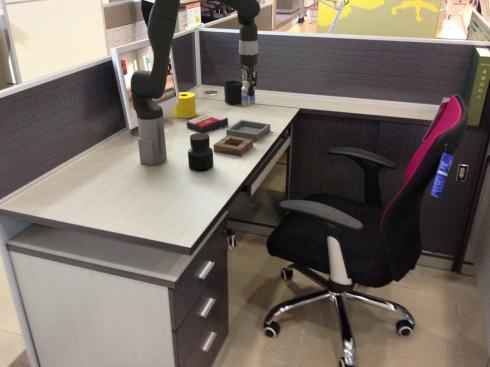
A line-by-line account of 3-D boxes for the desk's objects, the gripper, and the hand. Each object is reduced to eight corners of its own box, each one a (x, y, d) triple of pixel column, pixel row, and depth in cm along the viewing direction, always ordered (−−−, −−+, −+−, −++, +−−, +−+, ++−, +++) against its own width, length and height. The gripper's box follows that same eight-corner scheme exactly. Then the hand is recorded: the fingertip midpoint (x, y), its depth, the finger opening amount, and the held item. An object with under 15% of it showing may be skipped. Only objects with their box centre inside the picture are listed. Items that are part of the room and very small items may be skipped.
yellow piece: (183, 110, 230) (181, 91, 226) (199, 113, 226) (199, 94, 221) (170, 115, 222) (168, 96, 218) (187, 119, 218) (185, 99, 214)
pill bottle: (254, 102, 198) (254, 79, 194) (255, 106, 193) (255, 82, 189) (241, 102, 198) (240, 79, 193) (242, 106, 193) (242, 83, 188)
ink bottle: (219, 165, 172) (218, 134, 167) (205, 174, 165) (203, 142, 160) (197, 160, 177) (195, 129, 171) (182, 168, 170) (180, 137, 164)
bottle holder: (240, 157, 179) (240, 149, 178) (213, 152, 184) (213, 144, 182) (253, 146, 188) (253, 139, 187) (227, 141, 193) (227, 135, 191)
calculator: (185, 120, 206) (211, 111, 216) (186, 129, 209) (212, 119, 218) (202, 126, 200) (228, 116, 209) (203, 136, 202) (228, 125, 211)
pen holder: (246, 101, 242) (246, 82, 238) (236, 106, 235) (236, 86, 231) (231, 98, 247) (230, 79, 242) (220, 103, 240) (220, 83, 235)
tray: (256, 141, 193) (256, 134, 191) (226, 136, 198) (226, 129, 197) (270, 130, 204) (270, 124, 203) (241, 126, 210) (241, 119, 208)
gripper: (233, 49, 191) (234, 90, 198) (245, 56, 179) (245, 99, 186) (251, 47, 193) (250, 88, 201) (264, 54, 181) (263, 98, 189)
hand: (248, 93), depth 193 cm, fingers closed on pill bottle, 5 cm apart
